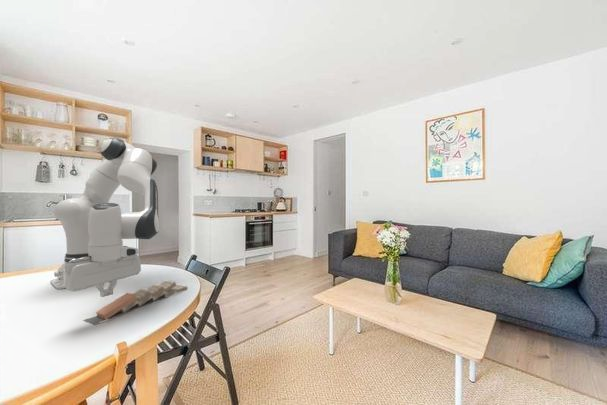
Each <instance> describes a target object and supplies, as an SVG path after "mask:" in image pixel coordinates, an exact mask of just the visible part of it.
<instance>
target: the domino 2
mask: <svg viewBox="0 0 607 405" xmlns="http://www.w3.org/2000/svg"><path fill="white" fill-rule="evenodd" d="M146 289H147V290H150V292H151V295H149V296H148V297H146V298H145V299H143V300H142V301H140V302H139V303H137V304H136V305H135V306H138V307H140V306H141V305H143V304H144V303H146V302H147V301H148V300H150V299H151V298H153V297H154V296H155V295H157V294H158V293H160V292H161V291H162V290H164V287H163V286H162V285H160V284H157V283H153V284H151V286H149V287H148V288H146Z"/></svg>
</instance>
